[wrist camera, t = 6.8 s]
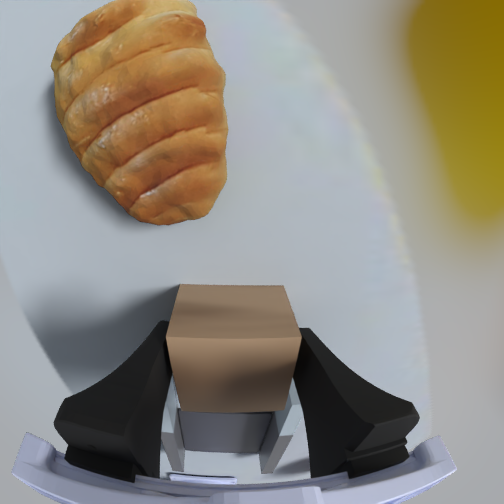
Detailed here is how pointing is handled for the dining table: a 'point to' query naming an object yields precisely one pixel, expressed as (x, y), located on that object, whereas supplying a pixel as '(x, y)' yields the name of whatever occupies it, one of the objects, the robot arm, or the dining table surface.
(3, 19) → the dining table surface
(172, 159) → the pastry
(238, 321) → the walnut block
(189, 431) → the grey i-beam block
